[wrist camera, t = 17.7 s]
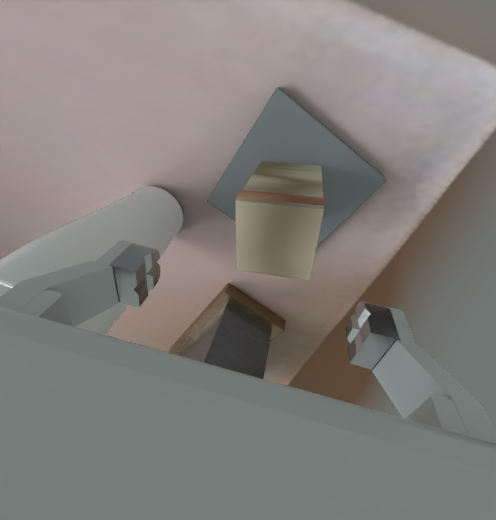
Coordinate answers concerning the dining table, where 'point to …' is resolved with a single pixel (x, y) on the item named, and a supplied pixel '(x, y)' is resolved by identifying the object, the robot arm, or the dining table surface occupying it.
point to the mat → (300, 161)
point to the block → (279, 220)
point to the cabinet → (231, 334)
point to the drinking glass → (97, 242)
